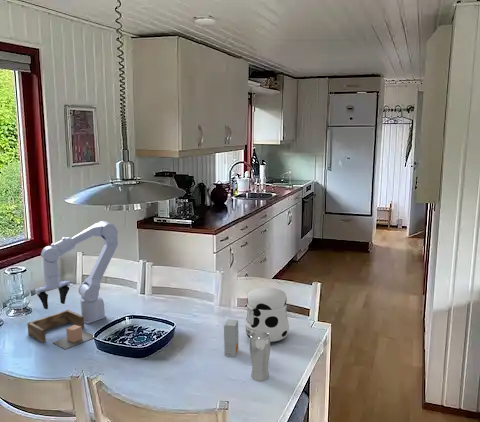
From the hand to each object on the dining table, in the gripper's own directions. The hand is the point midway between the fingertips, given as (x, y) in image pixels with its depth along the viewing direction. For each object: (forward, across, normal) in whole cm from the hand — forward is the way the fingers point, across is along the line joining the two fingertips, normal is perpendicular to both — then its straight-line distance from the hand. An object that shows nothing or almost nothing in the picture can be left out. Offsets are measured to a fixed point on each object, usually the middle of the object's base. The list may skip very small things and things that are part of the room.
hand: (54, 306), depth 206 cm
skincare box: (+10, -29, +74) cm, 80 cm away
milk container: (+10, -48, +76) cm, 90 cm away
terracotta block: (+9, +2, +18) cm, 20 cm away
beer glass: (+10, -22, +93) cm, 96 cm away
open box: (+9, +2, +10) cm, 14 cm away
